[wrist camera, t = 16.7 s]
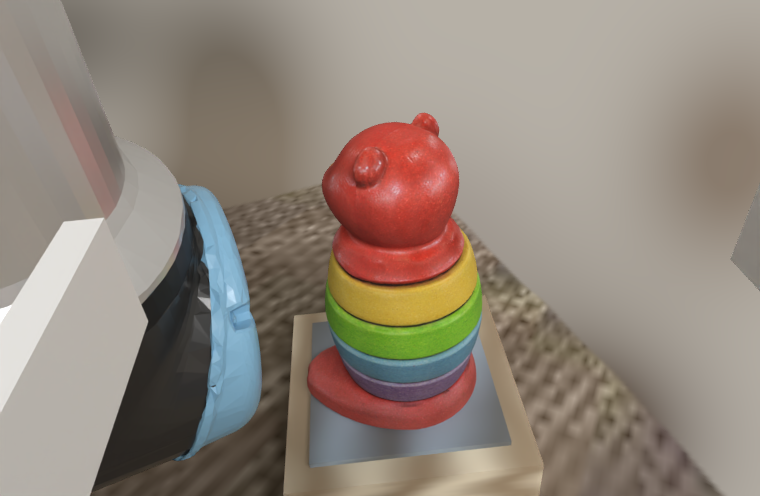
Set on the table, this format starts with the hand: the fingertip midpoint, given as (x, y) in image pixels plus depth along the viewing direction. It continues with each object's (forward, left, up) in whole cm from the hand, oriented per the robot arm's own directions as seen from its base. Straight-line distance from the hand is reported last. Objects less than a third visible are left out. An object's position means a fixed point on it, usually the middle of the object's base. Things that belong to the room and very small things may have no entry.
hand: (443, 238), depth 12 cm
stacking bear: (0, +17, -23) cm, 29 cm away
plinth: (0, +17, -27) cm, 32 cm away
